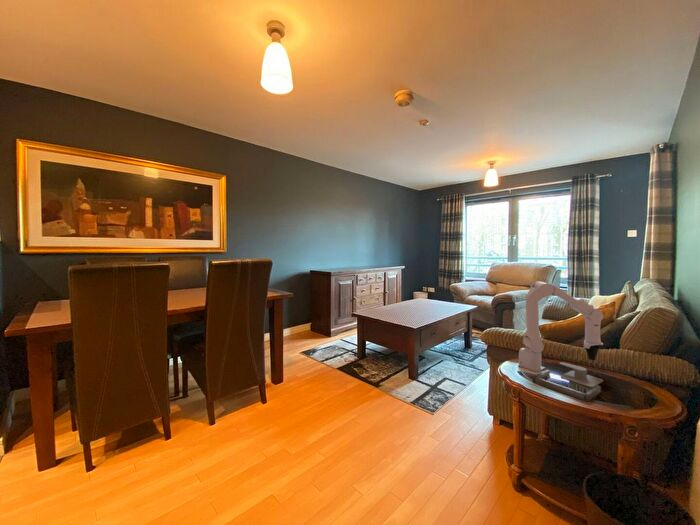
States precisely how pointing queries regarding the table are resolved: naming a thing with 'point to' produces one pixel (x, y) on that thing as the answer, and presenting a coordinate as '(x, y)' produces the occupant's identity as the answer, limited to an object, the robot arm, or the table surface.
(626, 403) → the table surface
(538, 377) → the mounting bracket
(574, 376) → the shower valve
